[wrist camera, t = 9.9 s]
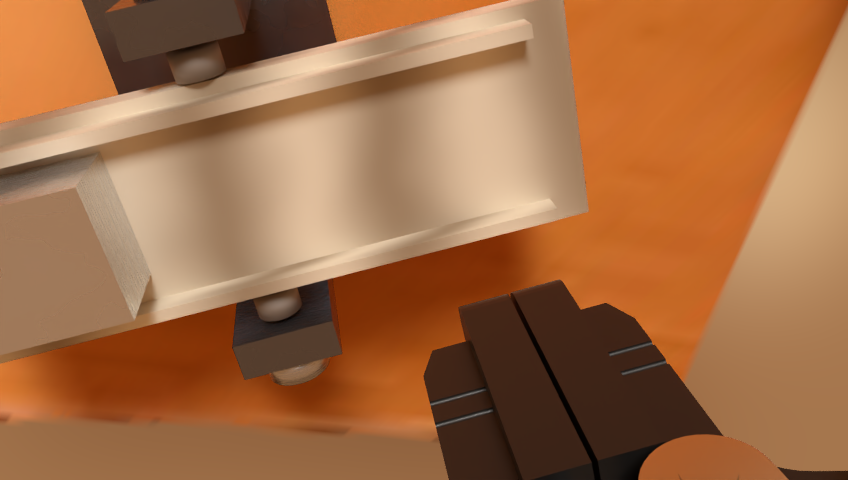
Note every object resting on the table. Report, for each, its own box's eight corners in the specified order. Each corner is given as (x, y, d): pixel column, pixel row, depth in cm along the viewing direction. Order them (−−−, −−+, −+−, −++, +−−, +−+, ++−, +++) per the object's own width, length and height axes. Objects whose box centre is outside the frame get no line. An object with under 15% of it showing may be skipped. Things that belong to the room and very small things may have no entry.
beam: (546, -42, 28) (573, -33, 26) (579, 220, 33) (604, 251, 30) (-175, 130, 27) (-226, 159, 24) (-31, 378, 32) (-60, 424, 29)
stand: (303, -87, 34) (312, -72, 25) (387, 245, 41) (419, 354, 32) (75, -33, 33) (-5, 3, 24) (202, 293, 41) (179, 419, 31)
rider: (100, 151, 27) (75, 187, 24) (150, 273, 29) (134, 320, 26) (-101, 200, 27) (-152, 243, 24) (-34, 319, 29) (-73, 373, 26)
